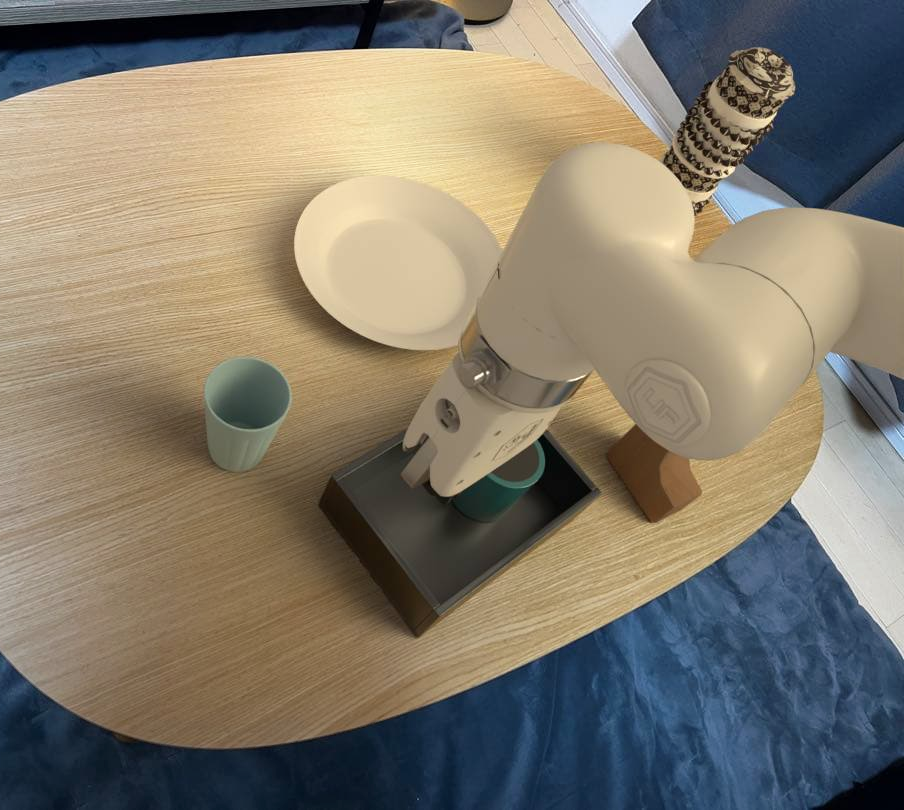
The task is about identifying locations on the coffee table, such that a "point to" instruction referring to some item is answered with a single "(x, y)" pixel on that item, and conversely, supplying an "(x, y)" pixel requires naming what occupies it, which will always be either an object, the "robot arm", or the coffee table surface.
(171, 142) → the coffee table surface
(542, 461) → the pot
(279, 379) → the cup
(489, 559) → the dark grey shallow box
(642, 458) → the wooden block
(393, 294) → the white plate
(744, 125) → the decorative candle
